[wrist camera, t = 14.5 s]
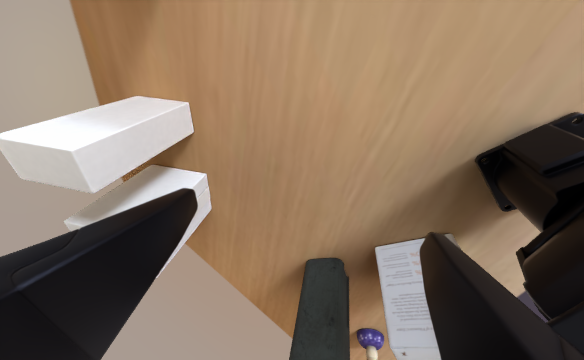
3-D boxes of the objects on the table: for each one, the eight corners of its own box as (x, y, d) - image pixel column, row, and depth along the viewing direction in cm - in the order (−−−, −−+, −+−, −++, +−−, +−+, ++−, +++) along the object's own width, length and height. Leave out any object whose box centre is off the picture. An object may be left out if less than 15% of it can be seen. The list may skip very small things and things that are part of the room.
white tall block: (189, 102, 21) (71, 150, 12) (194, 132, 23) (94, 194, 14) (136, 95, 22) (-12, 135, 13) (145, 125, 24) (19, 179, 14)
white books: (206, 173, 25) (139, 238, 17) (212, 209, 28) (157, 279, 20) (151, 163, 26) (62, 221, 18) (163, 199, 29) (90, 262, 21)
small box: (387, 275, 28) (405, 381, 20) (373, 245, 26) (387, 349, 17) (461, 266, 25) (522, 388, 16) (453, 231, 23) (518, 350, 14)
